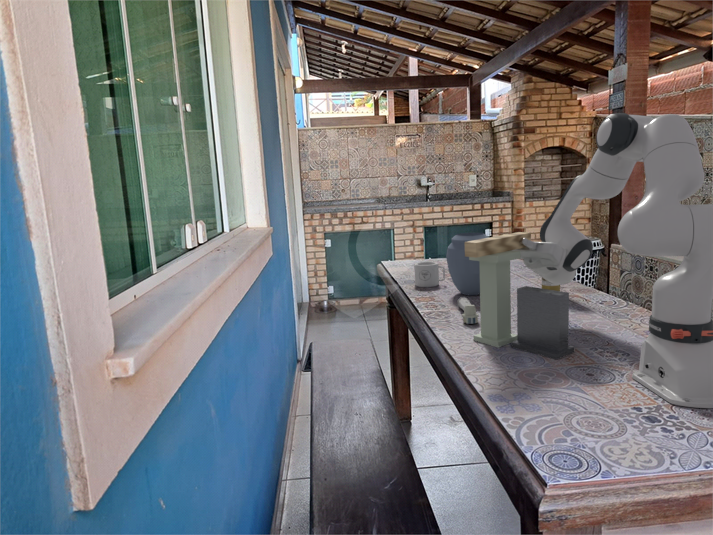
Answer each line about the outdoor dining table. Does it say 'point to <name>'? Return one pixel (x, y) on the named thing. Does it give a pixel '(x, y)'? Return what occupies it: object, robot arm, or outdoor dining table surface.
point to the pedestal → (495, 298)
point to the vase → (464, 264)
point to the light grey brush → (468, 311)
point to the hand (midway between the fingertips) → (514, 239)
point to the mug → (427, 274)
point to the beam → (495, 244)
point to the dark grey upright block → (543, 322)
